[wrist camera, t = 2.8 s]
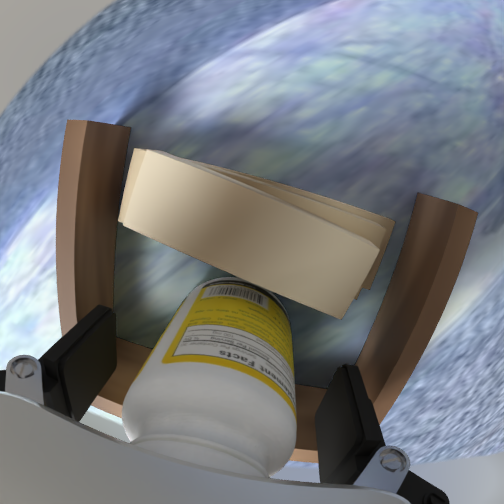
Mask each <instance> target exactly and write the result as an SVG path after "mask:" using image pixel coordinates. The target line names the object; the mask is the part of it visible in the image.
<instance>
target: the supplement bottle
mask: <svg viewBox="0 0 504 504" xmlns="http://www.w3.org/2000/svg"><path fill="white" fill-rule="evenodd" d="M122 421H123V426H124V429H125V432H126V434H127V436H128V438H129V440H130V441H131V442H130V444H133V445H135V446H138V447H141V448H144V449H147V450H150V451H153V452H156V453H159V454H162V455H165V456H169V457H172V458H176V459H179V460H183V461H186V462H190V463H194V464H198V465H202V466H206V467H210V468H215V469H220V470H224V471H229V472H234V473H240V474H245V475H251V476H258V477H265V478H270V477H271V476H273V475H274V474H275V473H277V472H278V471H280V470H281V469H282V468H283V467H284V466H285V464H286V463H287V462H288V461H289V459H290V457H291V456H292V454H293V451H294V448H295V444H296V431H297V417H296V398H295V378H294V363H293V346H292V334H291V326H290V321H289V317H288V314H287V312H286V310H285V308H284V306H283V304H282V303H281V302H280V300H279V299H278V298H277V297H276V296H275V295H274V294H273V293H272V292H271V291H270V290H268V289H265V288H263V287H261V286H258V285H256V284H253V283H251V282H249V281H246V280H244V279H242V278H238V277H222V278H216V279H213V280H209V281H207V282H205V283H203V284H201V285H199V286H198V287H196V288H195V289H194V290H193V291H191V292H190V293H189V295H188V296H187V297H186V298H185V299H184V301H183V302H182V304H181V305H180V307H179V308H178V310H177V311H176V313H175V314H174V316H173V318H172V319H171V321H170V323H169V324H168V326H167V327H166V329H165V330H164V332H163V334H162V335H161V337H160V338H159V340H158V342H157V343H156V345H155V347H154V348H153V350H152V352H151V353H150V355H149V356H148V358H147V360H146V361H145V363H144V364H143V366H142V368H141V369H140V371H139V373H138V374H137V376H136V377H135V379H134V381H133V383H132V384H131V386H130V388H129V390H128V392H127V394H126V396H125V399H124V402H123V407H122Z"/></svg>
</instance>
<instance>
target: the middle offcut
mask: <svg viewBox="0 0 504 504" xmlns="http://www.w3.org/2000/svg"><path fill="white" fill-rule="evenodd" d="M146 151H147V149H140V148H134V151H133V155H132V159H131V163H130V167H129V171H128V176H127V180H126V185H125V189H124V194H123V199H122V203H121V209H120V214H119V219H118V221H119V222H122V223H124V219H125V216H126V212H127V209H128V205H129V202H130V199H131V195H132V192H133V189H134V186H135V183H136V180H137V177H138V174H139V171H140V168H141V165H142V162H143V159H144V156H145V153H146ZM182 159H184V158H182ZM185 160H187V161H190V162H193V163H195V164H198V165H200V166H203V167H205V168H208V169H210V170H213V171H216V172H218V173H220V174H223V175H225V176H228V177H230V178H233V179H235V180H238V181H240V182H242V183H245V184H247V185H250V186H252V187H254V188H257V189H259V190H261V191H264V192H266V193H268V194H271V195H273V196H275V197H277V198H280V199H282V200H284V201H286V202H289V203H291V204H293V205H295V206H298V207H300V208H302V209H304V210H306V211H309V212H311V213H313V214H315V215H317V216H319V217H322V218H324V219H326V220H328V221H330V222H332V223H334V224H336V225H338V226H341V227H343V228H345V229H347V230H349V231H351V232H353V233H355V234H357V235H359V236H361V237H363V238H365V239H367V240H369V241H370V242H372V243H373V244H374V245H375V246H376V247H377V248H378V249H379V247H380V245H381V242H382V240H383V237H384V235H385V232H386V228H384V227H382V226H381V225H379V224H378V223H376V222H374V221H371V220H369V219H366V218H363V217H361V216H358V215H356V214H353V213H350V212H348V211H345V210H342V209H340V208H337V207H334V206H332V205H329V204H326V203H323V202H321V201H318V200H315V199H312V198H309V197H306V196H304V195H301V194H298V193H295V192H292V191H289V190H286V189H283V188H280V187H277V186H274V185H271V184H268V183H265V182H262V181H259V180H255V179H252V178H249V177H246V176H243V175H239V174H236V173H233V172H230V171H226V170H223V169H219V168H216V167H213V166H209V165H206V164H202V163H199V162H195V161H191V160H188V159H185ZM370 269H371V268H370ZM369 271H370V270H369ZM368 273H369V272H368ZM367 276H368V274H367ZM367 276H366V278H367ZM366 278H365V279H364V281H363V283H362V285H361V287H360V289H359V290H358V292H357V294H356V296H355V297H354V299H356V300H357V298H358V296H359V293H360V291H361V289H362V287H363V285H364V282H365V280H366Z"/></svg>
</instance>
